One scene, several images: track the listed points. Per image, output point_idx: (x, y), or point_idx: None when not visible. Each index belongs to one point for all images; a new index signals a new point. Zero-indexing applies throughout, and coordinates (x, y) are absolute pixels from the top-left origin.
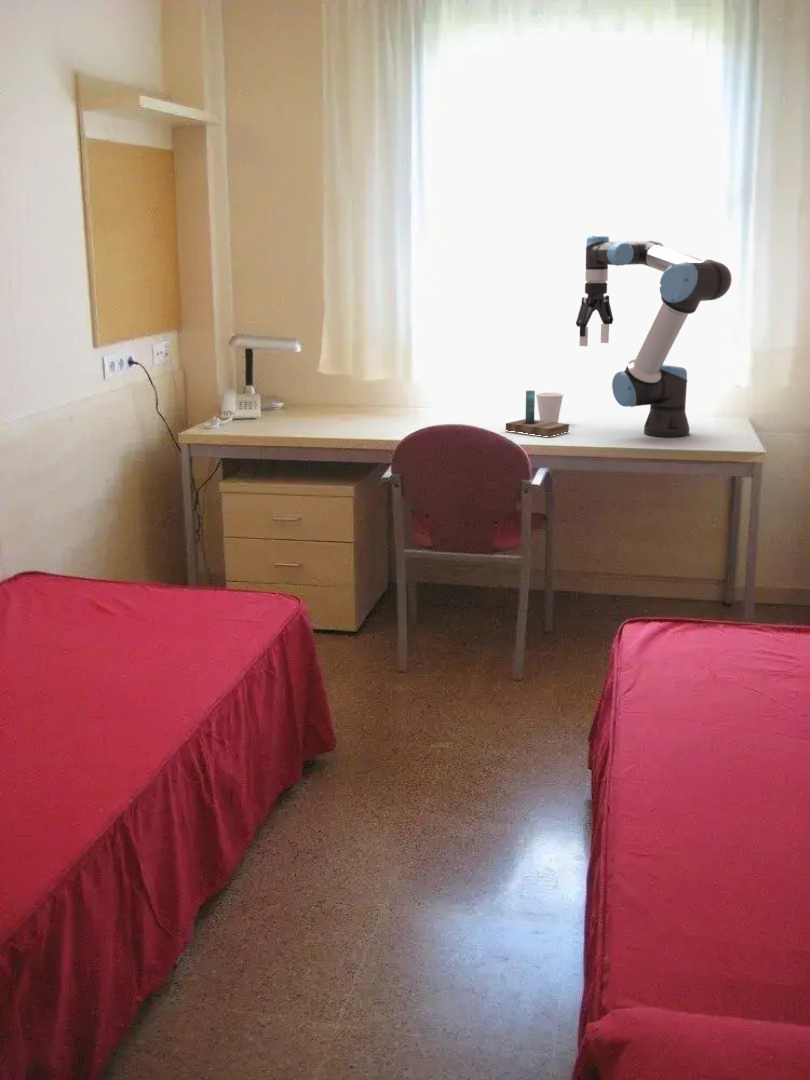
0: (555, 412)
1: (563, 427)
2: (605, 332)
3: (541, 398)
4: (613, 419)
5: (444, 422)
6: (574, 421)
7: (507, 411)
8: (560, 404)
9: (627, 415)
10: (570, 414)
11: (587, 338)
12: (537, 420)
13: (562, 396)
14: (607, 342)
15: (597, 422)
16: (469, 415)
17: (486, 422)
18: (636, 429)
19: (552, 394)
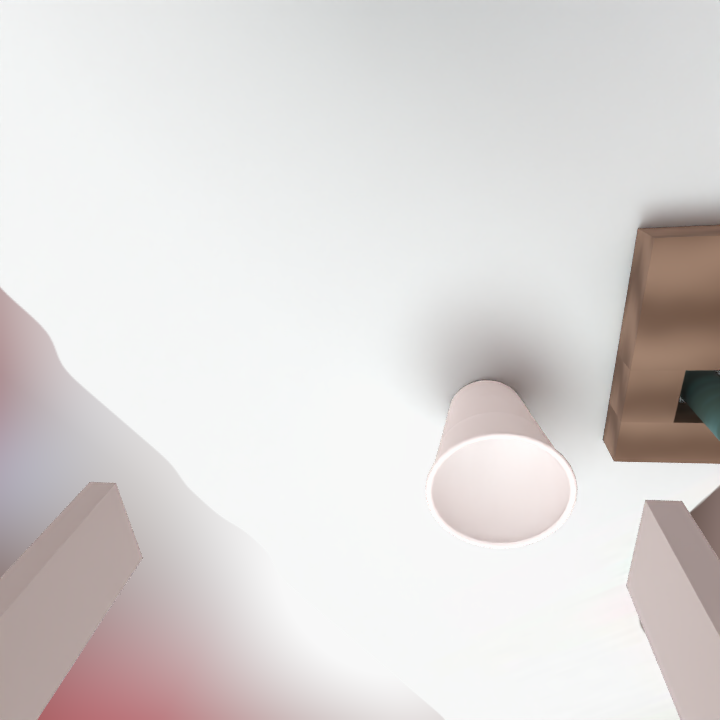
0: (510, 402)
1: (705, 233)
2: (25, 636)
3: (567, 489)
4: (197, 281)
5: None
6: (353, 373)
7: (342, 624)
8: (483, 414)
9: (79, 292)
10: (237, 463)
11: (708, 603)
12: (628, 406)
13: (473, 435)
14: (106, 488)
15: (307, 289)
16: (486, 666)
17: (580, 581)
18: (337, 11)
19: (436, 503)
